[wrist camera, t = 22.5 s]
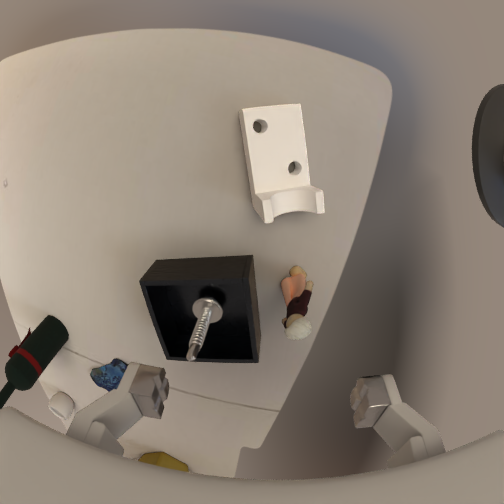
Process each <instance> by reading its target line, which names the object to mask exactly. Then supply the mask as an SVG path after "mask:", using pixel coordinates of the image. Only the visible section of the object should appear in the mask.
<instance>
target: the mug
mask: <svg viewBox="0 0 504 504" xmlns="http://www.w3.org/2000/svg"><path fill="white" fill-rule="evenodd" d="M73 406H74V404H73V401H72V399H71V398H70V397H69V396H68V395H66V394H65V393H62V392H58V393H56V394H55V395H54V396H53V397H52V398H51V400H50V402H49V404H48V407H49V409H50V410H51V411H52V412H53V413H54V414H55V415H56V416H58V417H59V418H61V419H63V420H66V419H69V418H70V416H71V414H72V411H73Z"/></svg>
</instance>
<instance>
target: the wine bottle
mask: <svg viewBox="0 0 504 504" xmlns="http://www.w3.org/2000/svg"><path fill="white" fill-rule="evenodd" d="M68 336H69V334H68V332H67V329H66V327H65V326H64V325H63V324H62V323H61V321H60V320H58V319H57V318H55V317H54V316H50V315H48V316H47V317H46V318H45V319H44V320H43V321H42V322H41V323H40V324H39V326H38V327H37V328H36V329H35V330H34V331H33V332H32V333H31V332H30V328H29V331H28V334H27V335H26V337H25V338H24V340H23V341H22V342H21V344H20V345H19V347H18V346H17V345H16V346H15V347H14V348H13V349H12V350H11V351H10V353H9V357H10V360H9V361H8V362H7V363H6V366H5V373H6V377H7V380H8V382H7V383H6V385H5V386H4V388H3V389H2V390H1V392H0V409H2V407H3V406H4V404H5V403H6V401H7V400H8V398H9V397H10V395H11V394H12V393H13V391H14V390H15V389H18V390H21V391H23V390H28V389H30V388H31V387H32V386H33V385H34V383H35V382H36V381H37V379H38V378H39V376H40V375H41V374H42V372H43V371H44V370H45V368H46V367H47V366H48V364H49V363H50V362H51V360H52V359H53V358H54V357H55V355H56V354H57V353H58V351H59V350H60V349H61V348H62V346H63V345H64V344H65V343H66V341H67V340H68Z"/></svg>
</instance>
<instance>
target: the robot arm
mask: <svg viewBox="0 0 504 504" xmlns="http://www.w3.org/2000/svg"><path fill="white" fill-rule="evenodd" d="M165 374H166V372H165V369H164V368H160V367H154V366H149V365H144V364H140V363H135V362H131V363H130V364H129V365H128V367H127V369H126V371H125V373H124V375H123V377H122V379H121V381H120V384H119V386H118V388H117V389H113V390H111V391H110V392H108V393H107V394H105V395H104V396H102V397H101V398H99V399H98V400H96V401H94V402H93V403H91V404H90V405H88V406H87V407H85V408H83V409H82V410H80V411H79V412H77V413H76V415H75V417H74V419H73V421H72V423H71V425H70V427H69V429H68V431H67V434H66V435H64V434H62V433H60V432H58V431H56V430H54V429H52V428H50V427H48V426H46V425H44V424H42V423H40V422H38V421H36V420H34V419H32V418H31V417H29V416H27V415H25V414H24V413H22V412H20V411H19V410H17V409H15V408H13V407H5V408H2V409H0V504H504V431H503V430H498V431H495V432H493V433H491V434H489V435H487V436H485V437H482V438H481V439H478V440H476V441H474V442H471V443H468V444H466V445H464V446H461V447H459V448H456V449H453V450H450V451H448V452H445V449H444V445H443V442H442V439H441V436H440V433H439V430H438V429H437V428H435V427H434V426H433V425H432V424H431V423H429V422H428V421H427V420H425V419H424V418H423V417H422V416H421V415H420V414H418V413H417V412H416V411H415V410H413V409H412V408H411V407H410V406H409V405H407V404H406V403H402V401H401V398H400V395H399V392H398V389H397V386H396V383H395V381H394V378H393V376H392V375H391V374H390V375H382V376H380V375H378V376H367V377H359V378H358V379H357V381H356V383H357V386H356V387H354V388H353V390H352V392H351V398H350V400H351V407H352V409H353V410H355V414H354V416H353V418H354V422H355V428H364V427H372V426H374V427H373V428H374V429H375V430H376V431H377V433H378V434H379V435H380V436H381V437H382V438H383V439H384V441H385V442H386V443H387V444H388V445H389V446H390V447H391V448H392V450H393V451H394V452H395V454H394V455H393V456H392V457H391V458H390V459H389V460H388V461H387V466H388V469H384V470H379V471H373V472H368V473H361V474H355V475H348V476H339V477H330V478H319V479H301V480H257V479H240V478H228V477H219V476H210V475H203V474H196V473H190V472H185V471H179V470H174V469H169V468H165V467H160V466H156V465H152V464H148V463H144V462H140V461H137V460H133V459H130V458H126V457H123V453H124V449H123V447H122V446H121V445H120V443H119V442H118V441H117V439H118V438H119V437H120V436H121V435H123V434H124V433H125V432H126V431H127V430H128V429H129V428H131V427H132V426H133V425H134V424H135V423H136V422H137V421H139V420H140V419H141V418H142V417H143V416H147V417H152V418H157V419H161V416H162V413H163V410H164V405H163V402H164V401H165V400H166V399H167V397H168V393H169V382H168V379H167V378H165Z"/></svg>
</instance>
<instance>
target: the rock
mask: <svg viewBox="0 0 504 504" xmlns="http://www.w3.org/2000/svg"><path fill="white" fill-rule="evenodd" d="M126 369H127V366H126V365H125V364H124V363H122V361H120V360H118V359H114V360H112V362H111V364H110V365H105V366H103V367H101V368H98V369H92V371H91V373H90V375H91V378H92V380H93V381H94V382H95V383H96V385H97V386H99V387H102V388H105V389H106V390H108V391H109V392H110V391H111V390H113V389H117V388H118V386H119V384H120V381H121V379H122V377H123V375H124V373H125V371H126Z"/></svg>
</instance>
